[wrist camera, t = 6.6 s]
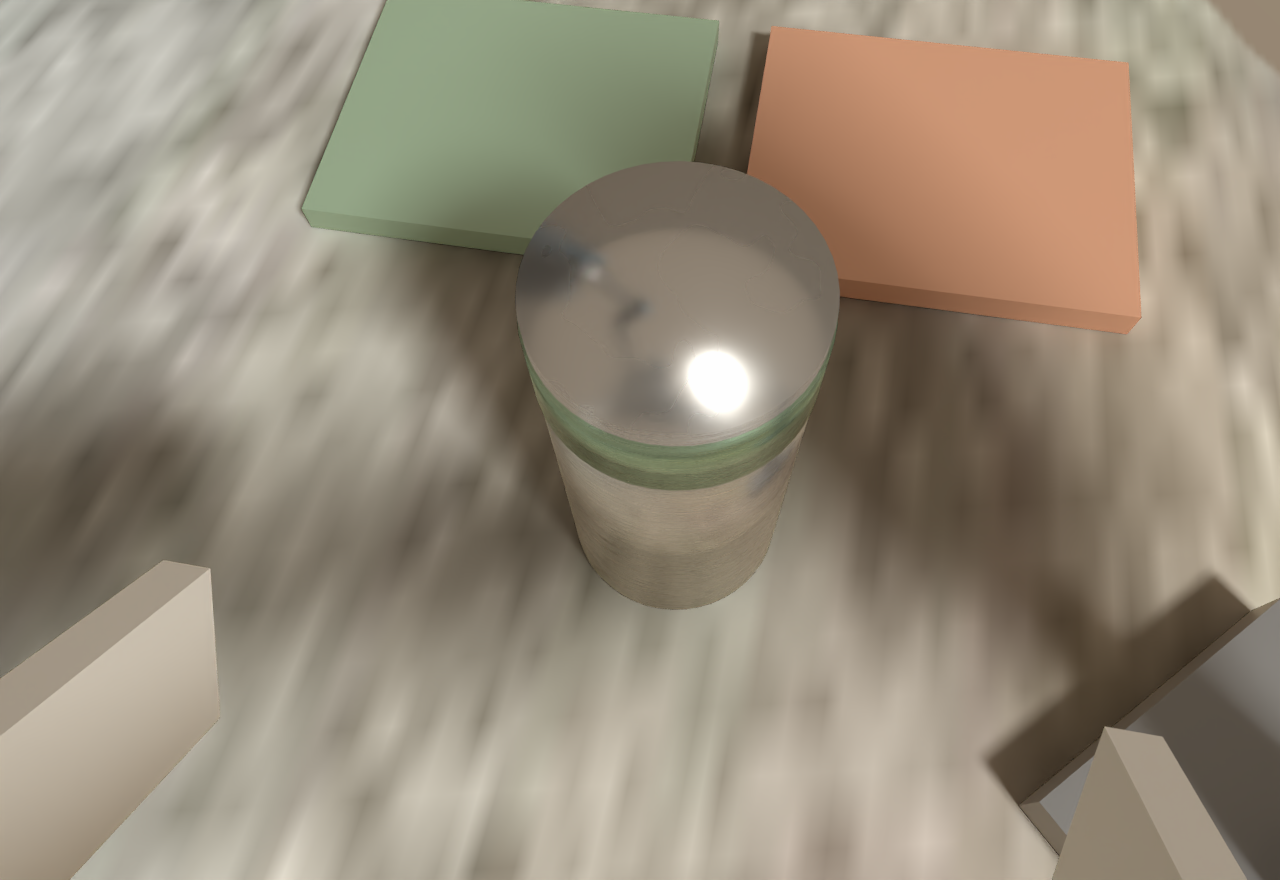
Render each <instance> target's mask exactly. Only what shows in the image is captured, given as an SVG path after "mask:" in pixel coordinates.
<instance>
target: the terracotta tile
mask: <svg viewBox="0 0 1280 880" xmlns="http://www.w3.org/2000/svg"><path fill="white" fill-rule="evenodd" d="M747 174H748V175H750V176H753V177H755V178H758V179H759V180H761V181H763V182H765V183H767V184H769V185H770V186H772V187H774V188H776V189H777V190H778V191H780V192H781V193H783V194H784V195H786V196H787V197H788V198H790V199H791V200H792V201H793V202H794V203H795V204H796V205H797V206H799V207H800V208H801V209H802V210H803V211H804V212H805V213H806V214H807V216H808V217H809V218H810V219H811V220H812V221H813V223H814V224H815V225H816V227H817V228H818V230H819V231H820V233H821V234H822V236H823V238H824V239H825V241H826V243H827V245H828V247H829V250H830V252H831V254H832V256H833V259H834V263H835V266H836V270H837V273H838V281H839V288H840V296H841V297H848V298H856V299H863V300H871V301H879V302H886V303H894V304H901V305H909V306H917V307H924V308H932V309H939V310H947V311H955V312H962V313H970V314H977V315H985V316H993V317H1000V318H1008V319H1015V320H1023V321H1031V322H1038V323H1046V324H1053V325H1061V326H1069V327H1076V328H1084V329H1091V330H1099V331H1107V332H1114V333H1122V334H1128V333H1129V331H1130V330H1131V329H1132V328H1133V327H1134V326H1135V324H1136V323H1137V322H1138V321H1139V320H1140V319H1141V301H1140V281H1139V262H1138V242H1137V222H1136V202H1135V182H1134V163H1133V143H1132V123H1131V103H1130V84H1129V64H1128V63H1126V62H1117V61H1107V60H1097V59H1087V58H1078V57H1068V56H1058V55H1048V54H1039V53H1029V52H1019V51H1009V50H1000V49H990V48H980V47H970V46H961V45H951V44H941V43H931V42H922V41H912V40H902V39H892V38H883V37H873V36H863V35H853V34H844V33H834V32H824V31H814V30H805V29H795V28H785V27H775V26H772V27H771V33H770V39H769V45H768V51H767V57H766V63H765V69H764V75H763V81H762V87H761V93H760V99H759V105H758V111H757V117H756V123H755V129H754V135H753V141H752V146H751V152H750V158H749V164H748V170H747Z"/></svg>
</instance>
